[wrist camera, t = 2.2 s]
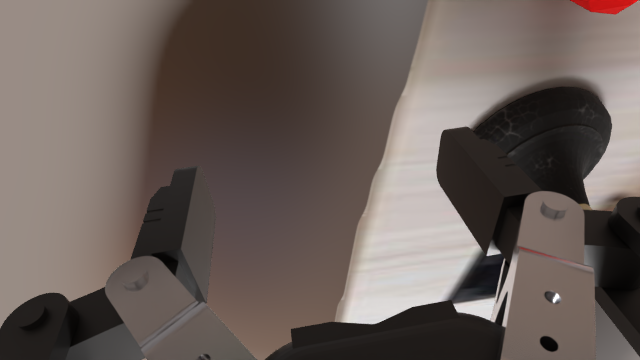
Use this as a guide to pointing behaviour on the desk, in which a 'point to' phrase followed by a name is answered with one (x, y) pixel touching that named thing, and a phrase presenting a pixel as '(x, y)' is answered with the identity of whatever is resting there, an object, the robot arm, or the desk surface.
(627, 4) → the ball
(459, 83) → the desk surface
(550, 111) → the banker's lamp
